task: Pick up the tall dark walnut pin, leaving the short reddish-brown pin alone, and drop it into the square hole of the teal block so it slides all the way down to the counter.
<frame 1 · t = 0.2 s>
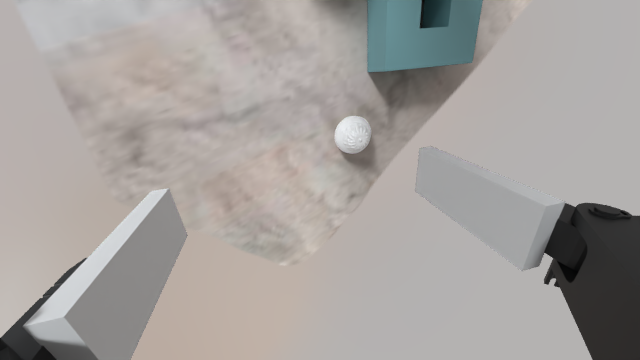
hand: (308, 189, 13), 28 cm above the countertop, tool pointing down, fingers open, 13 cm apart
hole block: (410, 17, 36), on the countertop
white ribbed jar: (345, 130, 41), on the countertop
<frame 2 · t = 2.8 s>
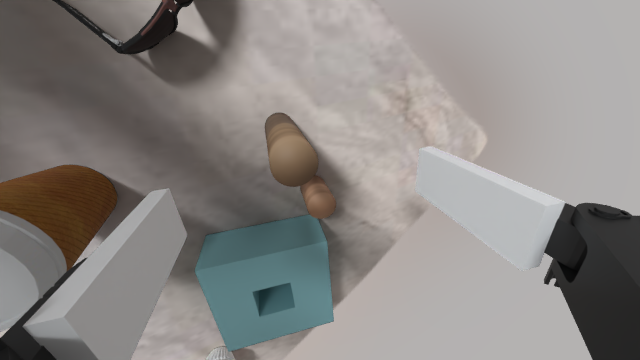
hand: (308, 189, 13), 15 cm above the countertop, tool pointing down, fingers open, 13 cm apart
disposable coffee cup: (81, 192, 24), on the countertop
hole block: (272, 264, 33), on the countertop
short pin: (312, 186, 30), on the countertop
white ribbed jar: (220, 351, 39), on the countertop
tall pin: (279, 127, 26), on the countertop
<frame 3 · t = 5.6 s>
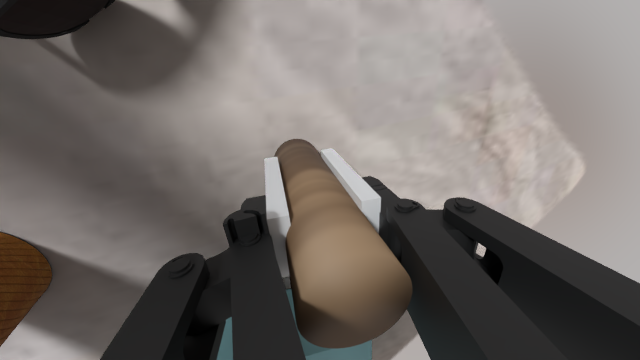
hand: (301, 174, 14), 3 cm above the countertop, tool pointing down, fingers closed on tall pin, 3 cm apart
hole block: (283, 341, 24), on the countertop
tall pin: (296, 161, 17), on the countertop, touching gripper
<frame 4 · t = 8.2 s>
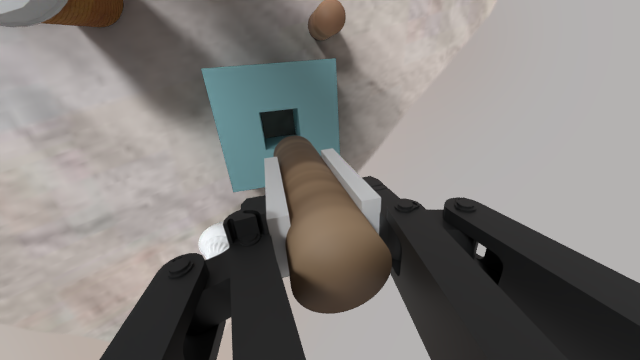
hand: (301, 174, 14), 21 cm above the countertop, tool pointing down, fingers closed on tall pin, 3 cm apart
hole block: (278, 120, 33), on the countertop
short pin: (320, 25, 30), on the countertop
white ribbed jar: (224, 228, 38), on the countertop
tall pin: (294, 156, 18), point 17 cm above the countertop, touching gripper
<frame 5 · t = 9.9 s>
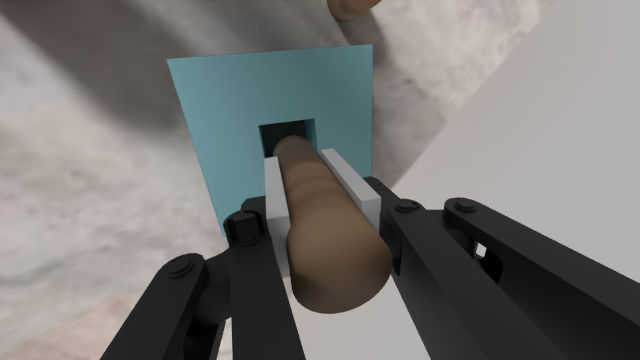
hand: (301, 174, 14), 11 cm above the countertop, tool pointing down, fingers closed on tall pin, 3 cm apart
hole block: (284, 132, 24), on the countertop
short pin: (344, 0, 21), on the countertop
tall pin: (294, 156, 18), point 7 cm above the countertop, touching gripper
when the fingers open (9 cm above the countertop, at t = 11.1 s): tall pin drops 5 cm, on the countertop.
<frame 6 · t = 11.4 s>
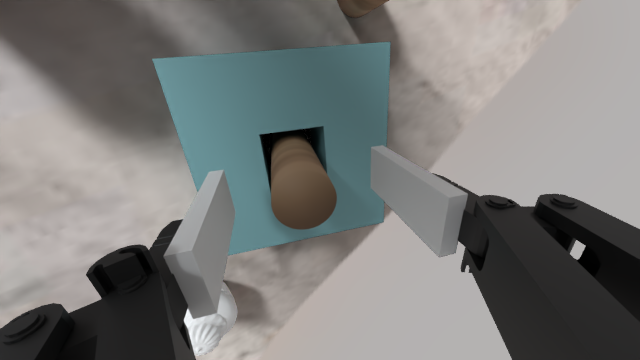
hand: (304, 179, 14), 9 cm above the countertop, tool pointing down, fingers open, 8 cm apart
hole block: (287, 140, 22), on the countertop
white ribbed jar: (212, 287, 27), on the countertop
tall pin: (288, 140, 22), on the countertop
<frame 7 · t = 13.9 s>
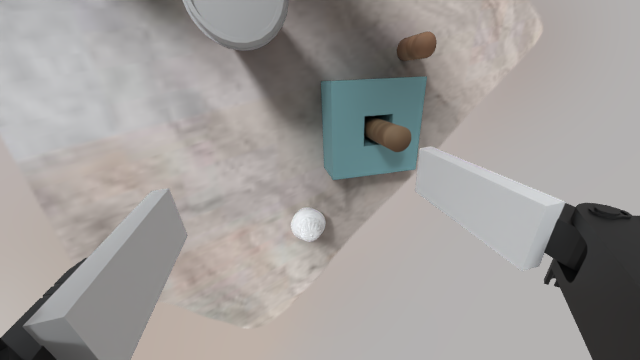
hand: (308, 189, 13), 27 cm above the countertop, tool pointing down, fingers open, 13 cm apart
disposable coffee cup: (244, 19, 31), on the countertop
hole block: (362, 123, 40), on the countertop
short pin: (406, 49, 37), on the countertop
white ribbed jar: (305, 214, 45), on the countertop
tall pin: (363, 124, 40), on the countertop
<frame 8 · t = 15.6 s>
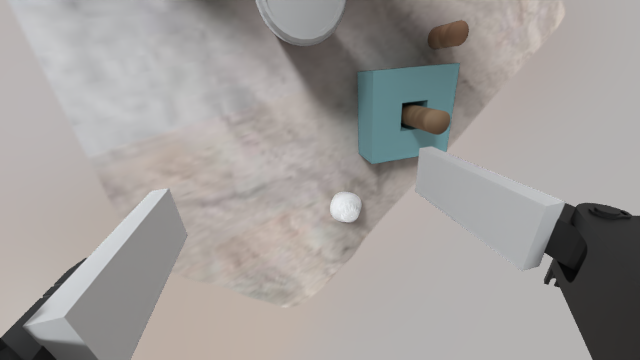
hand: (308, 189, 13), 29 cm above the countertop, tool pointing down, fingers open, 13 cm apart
disposable coffee cup: (290, 16, 34), on the countertop
hole block: (394, 110, 43), on the countertop
short pin: (436, 38, 39), on the countertop
white ribbed jar: (340, 198, 48), on the countertop
tall pin: (395, 110, 43), on the countertop
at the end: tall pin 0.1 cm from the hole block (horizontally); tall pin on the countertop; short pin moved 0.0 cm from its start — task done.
